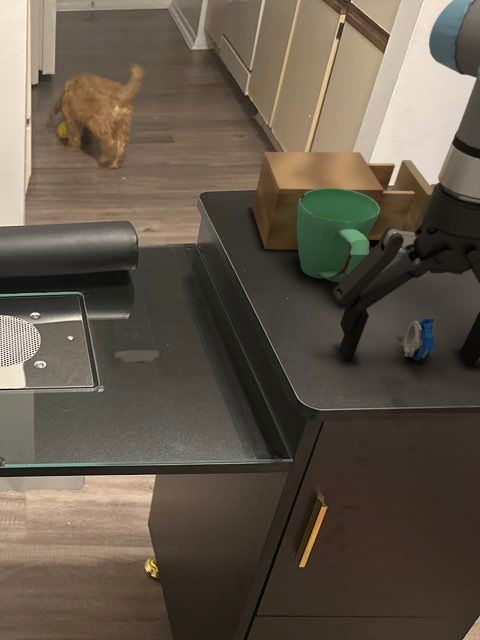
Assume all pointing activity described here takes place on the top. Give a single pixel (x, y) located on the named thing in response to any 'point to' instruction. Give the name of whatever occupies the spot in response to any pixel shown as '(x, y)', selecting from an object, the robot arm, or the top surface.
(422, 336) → the toy
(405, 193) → the drawer
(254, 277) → the top surface
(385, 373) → the top surface
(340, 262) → the mug
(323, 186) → the cabinet
